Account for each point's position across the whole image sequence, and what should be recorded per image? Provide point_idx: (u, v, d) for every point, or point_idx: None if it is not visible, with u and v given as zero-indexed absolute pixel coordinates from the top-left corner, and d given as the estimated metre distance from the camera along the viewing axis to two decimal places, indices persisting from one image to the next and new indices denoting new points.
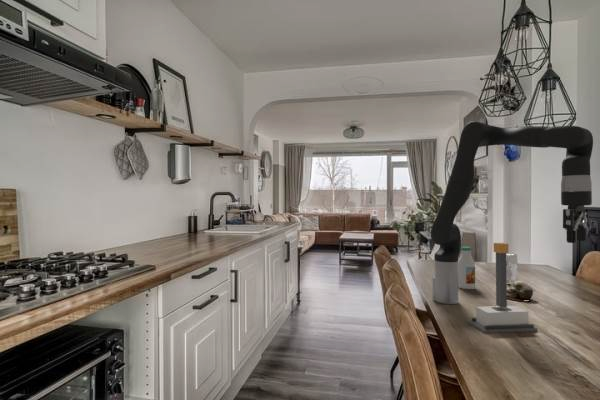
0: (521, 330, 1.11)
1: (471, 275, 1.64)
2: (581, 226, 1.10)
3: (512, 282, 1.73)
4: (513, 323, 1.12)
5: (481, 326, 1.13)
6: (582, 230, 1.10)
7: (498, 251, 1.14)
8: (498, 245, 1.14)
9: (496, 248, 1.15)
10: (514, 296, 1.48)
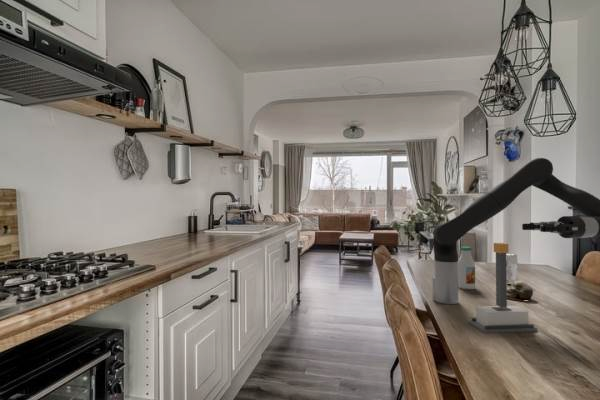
0: (521, 330, 1.11)
1: (471, 275, 1.64)
2: (535, 226, 1.20)
3: (512, 282, 1.73)
4: (513, 323, 1.12)
5: (481, 326, 1.13)
6: (532, 227, 1.20)
7: (498, 251, 1.14)
8: (498, 245, 1.14)
9: (496, 248, 1.15)
10: (514, 296, 1.48)
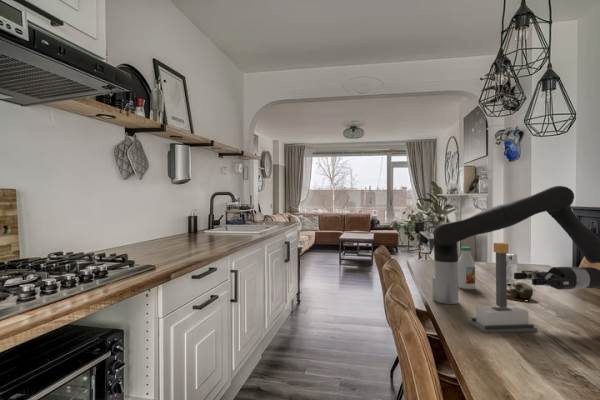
0: (521, 330, 1.11)
1: (471, 275, 1.64)
2: (527, 275, 1.20)
3: (512, 282, 1.73)
4: (513, 323, 1.12)
5: (481, 326, 1.13)
6: (524, 277, 1.20)
7: (498, 251, 1.14)
8: (498, 245, 1.14)
9: (496, 248, 1.15)
10: (514, 296, 1.48)
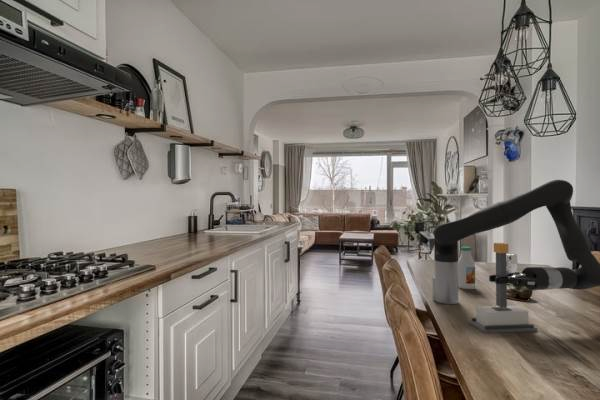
0: (521, 330, 1.11)
1: (471, 275, 1.64)
2: None
3: None
4: (513, 323, 1.12)
5: (481, 326, 1.13)
6: None
7: (498, 251, 1.14)
8: (498, 245, 1.14)
9: (496, 248, 1.15)
10: (514, 296, 1.48)
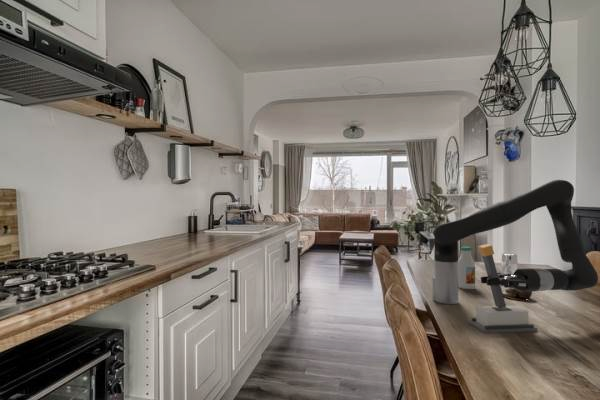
0: (521, 330, 1.11)
1: (471, 275, 1.64)
2: None
3: None
4: (513, 323, 1.12)
5: (481, 326, 1.13)
6: None
7: (484, 254, 1.14)
8: (482, 249, 1.14)
9: (481, 251, 1.15)
10: (513, 295, 1.49)
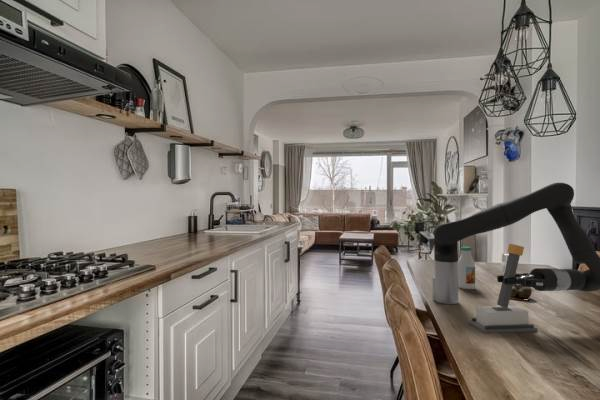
0: (521, 330, 1.11)
1: (471, 275, 1.64)
2: None
3: None
4: (513, 323, 1.12)
5: (481, 326, 1.13)
6: None
7: (512, 252, 1.14)
8: (514, 246, 1.14)
9: (511, 249, 1.15)
10: (513, 295, 1.49)
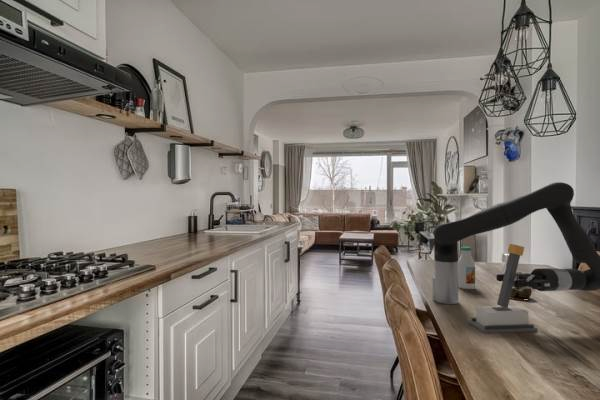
0: (521, 330, 1.11)
1: (471, 275, 1.64)
2: None
3: None
4: (513, 323, 1.12)
5: (481, 326, 1.13)
6: None
7: (513, 252, 1.14)
8: (514, 246, 1.14)
9: (511, 249, 1.15)
10: (513, 295, 1.49)
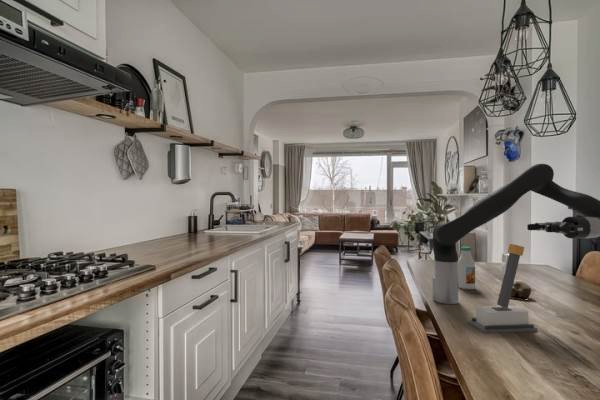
0: (521, 330, 1.11)
1: (471, 275, 1.64)
2: (540, 227, 1.22)
3: None
4: (513, 323, 1.12)
5: (481, 326, 1.13)
6: (537, 228, 1.21)
7: (513, 252, 1.14)
8: (514, 246, 1.14)
9: (511, 249, 1.15)
10: (513, 295, 1.50)
